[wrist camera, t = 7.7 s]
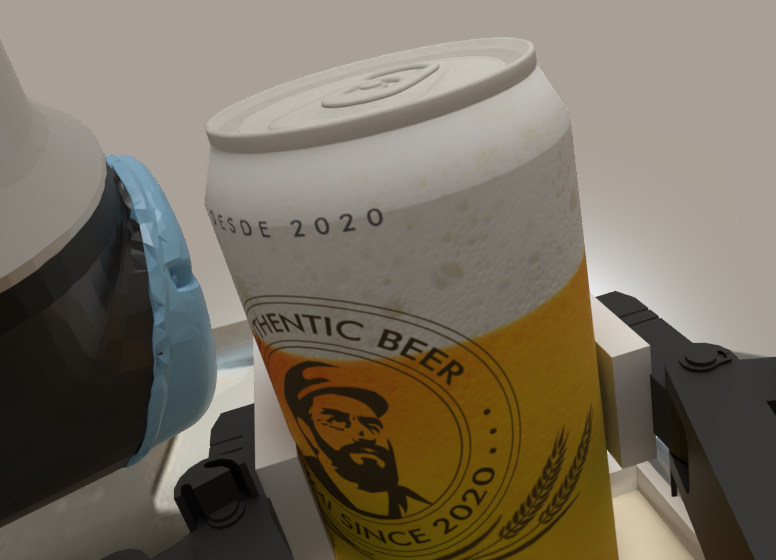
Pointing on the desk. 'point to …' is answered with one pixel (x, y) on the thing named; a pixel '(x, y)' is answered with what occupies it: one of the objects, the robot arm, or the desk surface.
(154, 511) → the desk surface
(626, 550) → the socket board
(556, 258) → the beer can
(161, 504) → the desk surface
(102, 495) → the desk surface
